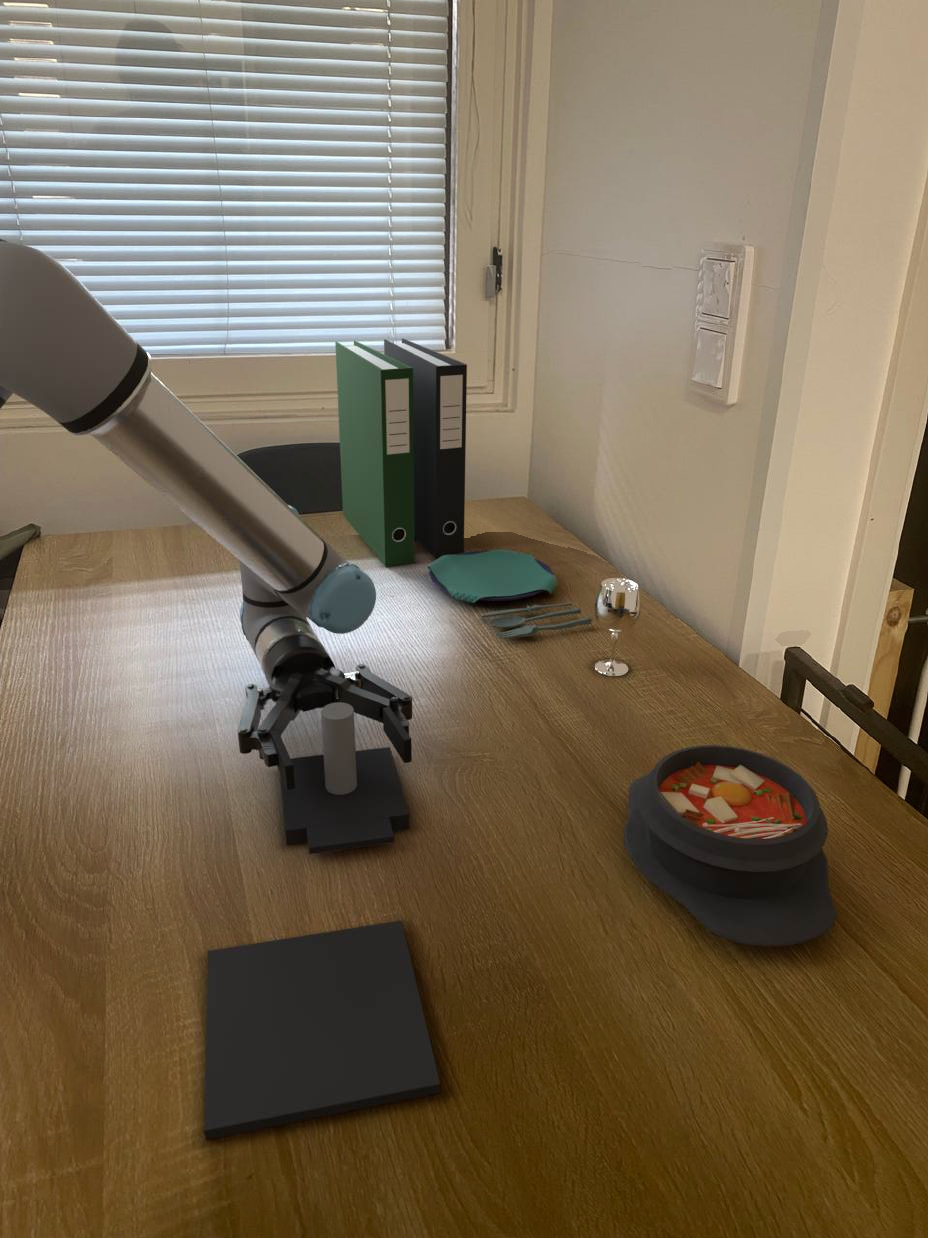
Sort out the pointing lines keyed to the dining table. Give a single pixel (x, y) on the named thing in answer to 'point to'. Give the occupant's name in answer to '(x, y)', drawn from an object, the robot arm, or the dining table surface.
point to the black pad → (313, 1029)
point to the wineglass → (616, 617)
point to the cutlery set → (501, 586)
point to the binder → (402, 448)
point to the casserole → (734, 844)
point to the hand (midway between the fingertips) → (350, 764)
